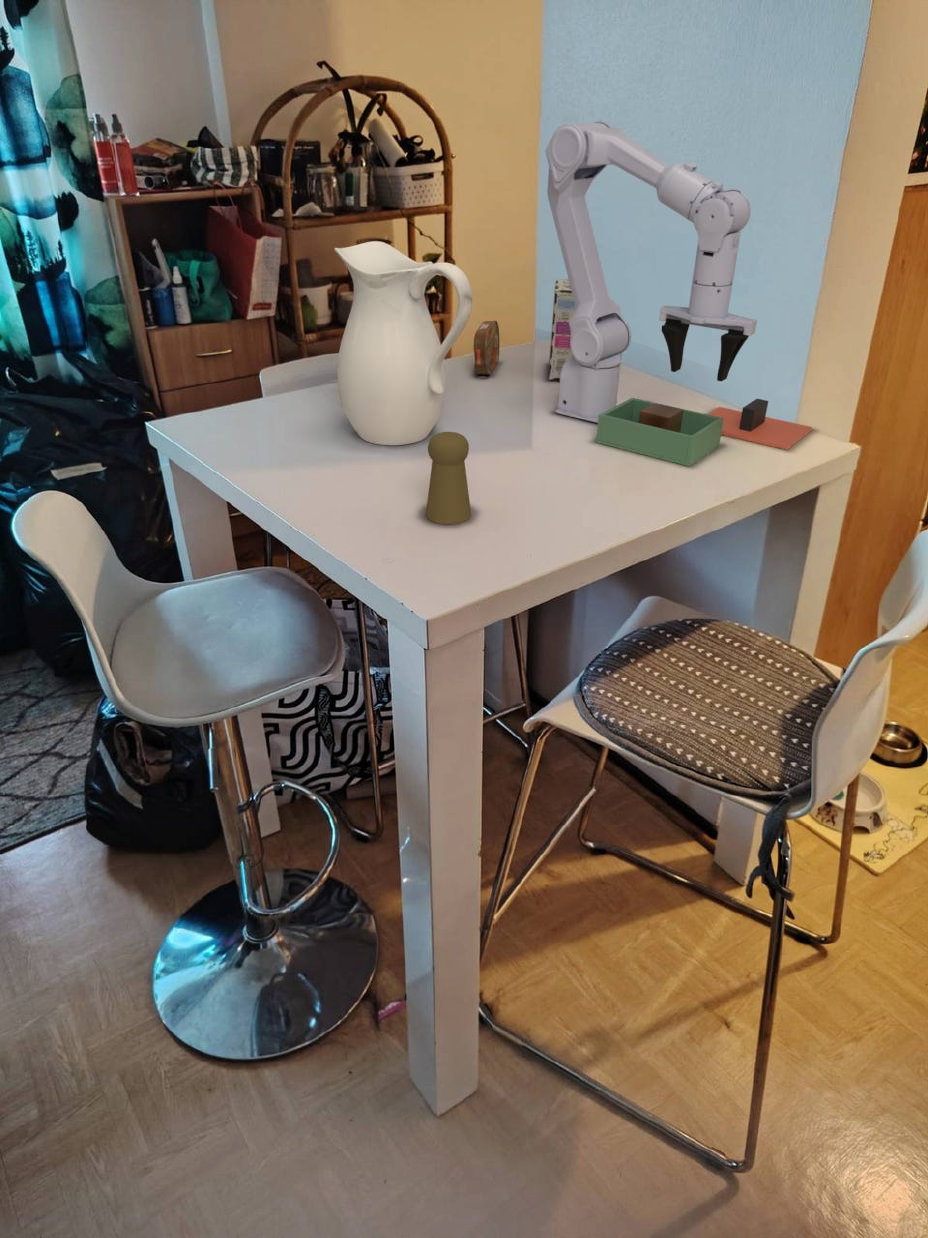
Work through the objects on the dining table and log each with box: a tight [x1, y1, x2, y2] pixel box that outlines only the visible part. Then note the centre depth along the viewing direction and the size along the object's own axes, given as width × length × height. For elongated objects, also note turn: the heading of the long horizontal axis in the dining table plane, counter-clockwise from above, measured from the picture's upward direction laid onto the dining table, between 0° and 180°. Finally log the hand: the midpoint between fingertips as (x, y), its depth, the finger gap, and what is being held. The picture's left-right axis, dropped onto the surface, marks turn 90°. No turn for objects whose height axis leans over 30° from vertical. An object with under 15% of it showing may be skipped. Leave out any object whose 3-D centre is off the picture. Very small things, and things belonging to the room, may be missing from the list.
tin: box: [473, 320, 500, 376], centre depth 172 cm, size 15×3×8 cm, turn 168°
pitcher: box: [333, 240, 473, 446], centre depth 134 cm, size 24×17×28 cm
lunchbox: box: [595, 397, 724, 467], centre depth 140 cm, size 16×11×4 cm
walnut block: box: [639, 402, 684, 433], centre depth 139 cm, size 5×5×5 cm
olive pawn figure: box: [425, 431, 472, 525], centre depth 115 cm, size 6×6×11 cm
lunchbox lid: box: [706, 398, 813, 451], centre depth 146 cm, size 16×11×4 cm
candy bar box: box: [548, 278, 576, 382], centre depth 168 cm, size 11×5×16 cm, turn 174°
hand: (698, 374), depth 137 cm, fingers open, 7 cm apart
